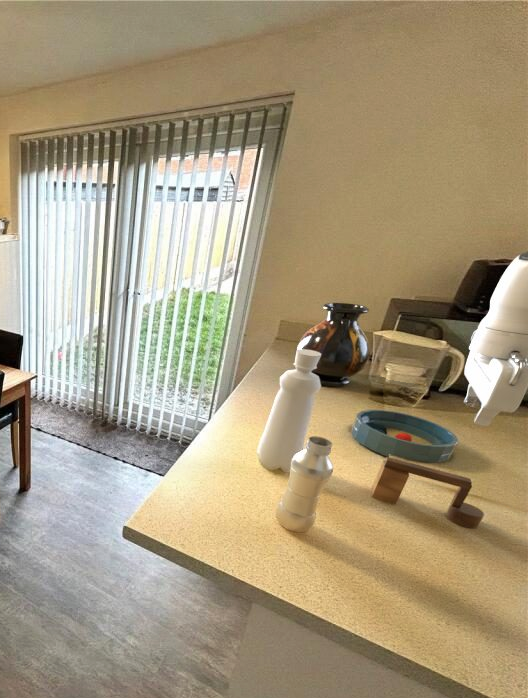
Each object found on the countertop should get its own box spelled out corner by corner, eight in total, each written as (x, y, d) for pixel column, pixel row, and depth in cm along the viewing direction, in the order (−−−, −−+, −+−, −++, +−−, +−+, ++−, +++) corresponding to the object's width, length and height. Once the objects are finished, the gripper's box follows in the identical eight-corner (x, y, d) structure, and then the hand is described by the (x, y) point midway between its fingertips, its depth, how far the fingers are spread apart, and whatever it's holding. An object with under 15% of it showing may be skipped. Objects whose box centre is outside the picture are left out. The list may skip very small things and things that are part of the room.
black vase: (363, 395, 134) (393, 315, 123) (289, 383, 145) (310, 308, 134) (354, 375, 151) (380, 303, 140) (288, 365, 162) (307, 298, 151)
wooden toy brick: (394, 495, 88) (407, 466, 84) (395, 504, 85) (409, 475, 82) (371, 488, 90) (383, 460, 87) (371, 497, 87) (384, 468, 84)
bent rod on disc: (475, 518, 80) (496, 482, 77) (479, 531, 77) (502, 494, 74) (372, 487, 90) (386, 453, 86) (372, 498, 87) (387, 463, 83)
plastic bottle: (319, 532, 78) (352, 447, 70) (293, 540, 76) (323, 453, 68) (290, 511, 83) (317, 429, 75) (265, 517, 82) (290, 435, 74)
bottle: (257, 471, 96) (289, 356, 84) (252, 451, 104) (280, 344, 92) (300, 479, 93) (340, 361, 81) (291, 458, 101) (326, 348, 89)
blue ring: (442, 442, 107) (451, 423, 105) (453, 476, 93) (464, 455, 91) (351, 421, 118) (357, 403, 116) (348, 449, 105) (356, 429, 102)
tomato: (401, 436, 103) (395, 445, 105) (416, 439, 102) (409, 448, 104) (396, 429, 105) (390, 438, 107) (411, 432, 104) (404, 441, 106)
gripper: (558, 365, 59) (515, 442, 65) (520, 334, 74) (487, 400, 79) (496, 357, 63) (460, 431, 69) (472, 329, 78) (443, 392, 83)
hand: (474, 414), depth 74 cm, fingers open, 8 cm apart
